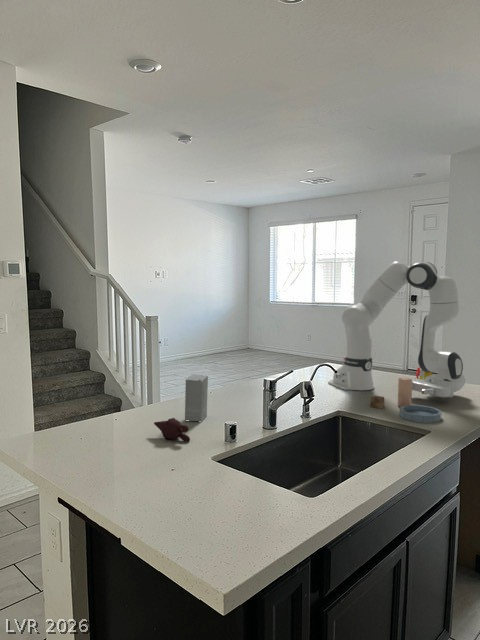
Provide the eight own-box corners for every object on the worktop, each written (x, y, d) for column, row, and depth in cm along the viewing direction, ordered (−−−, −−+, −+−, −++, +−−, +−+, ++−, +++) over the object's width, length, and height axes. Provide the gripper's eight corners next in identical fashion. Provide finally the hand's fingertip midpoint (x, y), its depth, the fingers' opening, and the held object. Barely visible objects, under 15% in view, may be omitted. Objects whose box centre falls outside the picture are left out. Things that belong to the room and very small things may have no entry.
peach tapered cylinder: (394, 405, 189) (395, 378, 188) (403, 403, 192) (404, 377, 191) (405, 408, 185) (406, 381, 184) (414, 406, 188) (415, 379, 187)
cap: (411, 372, 239) (417, 367, 234) (419, 367, 242) (425, 363, 237) (420, 385, 237) (427, 381, 232) (428, 380, 239) (435, 376, 234)
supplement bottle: (434, 385, 224) (434, 364, 223) (428, 387, 220) (428, 365, 219) (423, 383, 228) (423, 362, 227) (417, 385, 225) (417, 363, 224)
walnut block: (370, 407, 187) (370, 397, 187) (374, 405, 190) (374, 395, 190) (380, 409, 185) (380, 399, 184) (384, 406, 188) (384, 397, 188)
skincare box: (191, 415, 178) (190, 373, 176) (209, 416, 176) (208, 374, 175) (183, 421, 170) (183, 378, 168) (202, 423, 168) (202, 379, 167)
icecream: (144, 419, 152) (179, 431, 144) (160, 408, 158) (195, 419, 149) (147, 437, 154) (182, 450, 146) (163, 426, 160) (197, 438, 152)
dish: (392, 415, 176) (392, 408, 176) (417, 409, 183) (417, 403, 183) (424, 425, 164) (424, 418, 164) (449, 418, 171) (449, 411, 171)
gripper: (414, 373, 206) (393, 377, 199) (457, 382, 189) (435, 386, 182) (414, 387, 207) (392, 392, 200) (456, 398, 190) (434, 402, 182)
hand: (413, 389), depth 191 cm, fingers open, 8 cm apart
